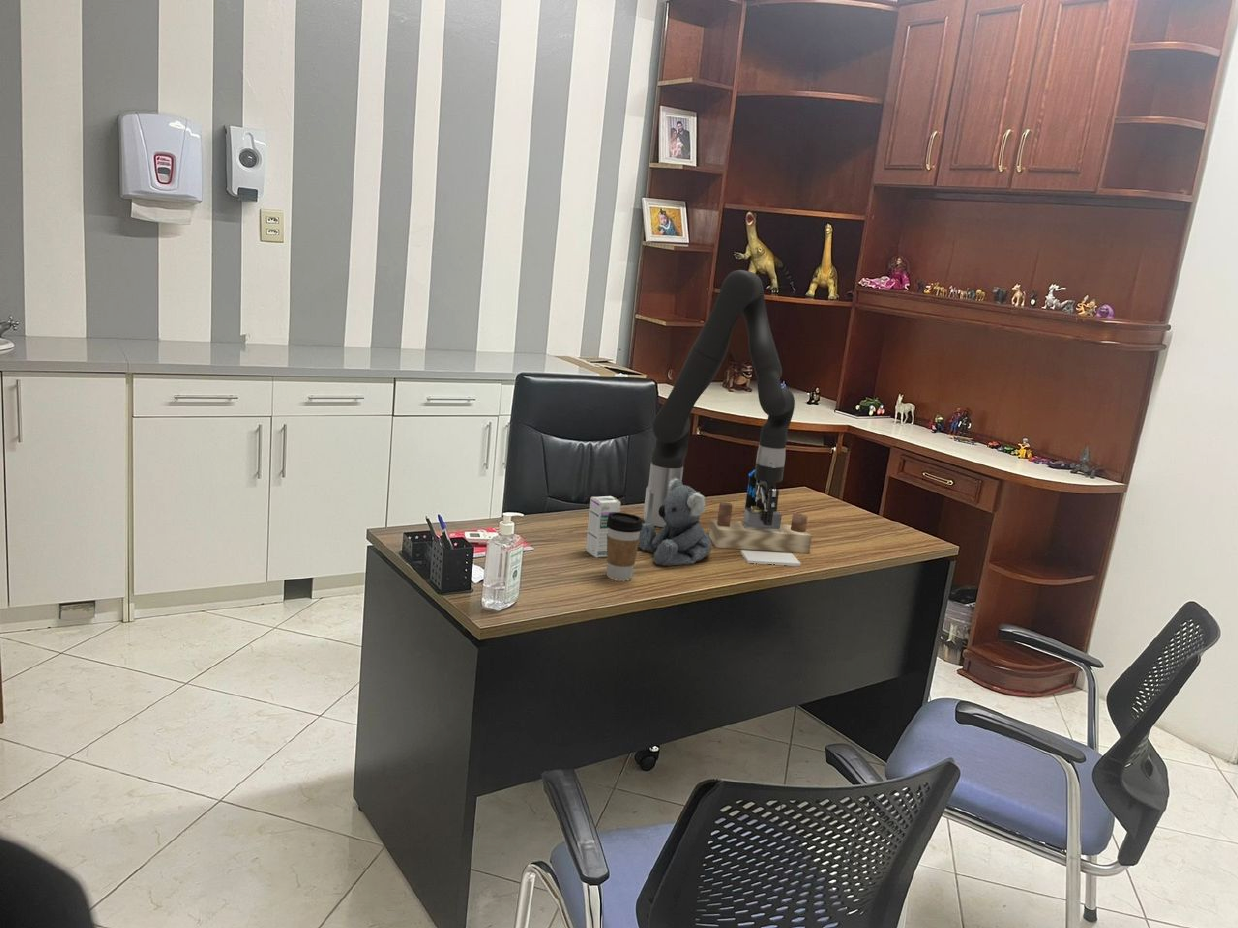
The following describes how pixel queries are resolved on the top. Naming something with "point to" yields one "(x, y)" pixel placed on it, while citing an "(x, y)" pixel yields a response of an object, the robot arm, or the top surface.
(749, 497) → the aerosol can
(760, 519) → the lever cap
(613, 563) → the coffee cup
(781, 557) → the rubber mat
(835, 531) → the top surface
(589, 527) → the syrup box
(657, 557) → the koala plush
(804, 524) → the hand plane
